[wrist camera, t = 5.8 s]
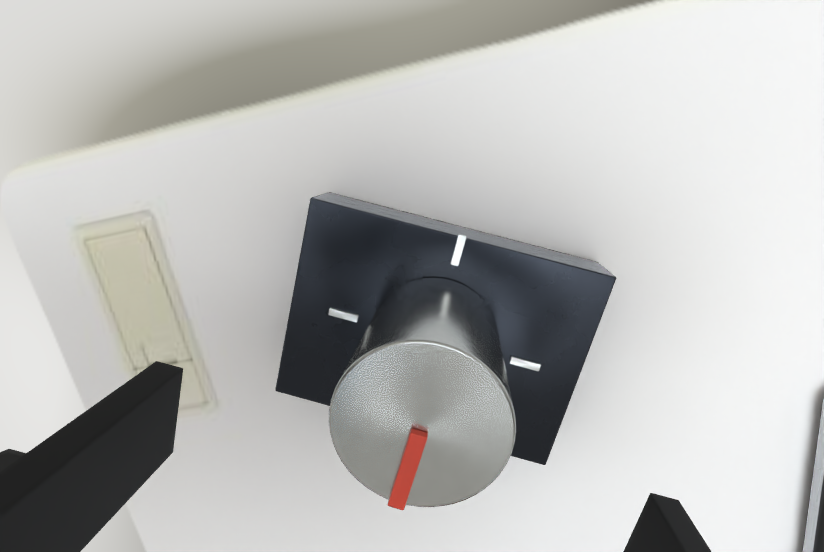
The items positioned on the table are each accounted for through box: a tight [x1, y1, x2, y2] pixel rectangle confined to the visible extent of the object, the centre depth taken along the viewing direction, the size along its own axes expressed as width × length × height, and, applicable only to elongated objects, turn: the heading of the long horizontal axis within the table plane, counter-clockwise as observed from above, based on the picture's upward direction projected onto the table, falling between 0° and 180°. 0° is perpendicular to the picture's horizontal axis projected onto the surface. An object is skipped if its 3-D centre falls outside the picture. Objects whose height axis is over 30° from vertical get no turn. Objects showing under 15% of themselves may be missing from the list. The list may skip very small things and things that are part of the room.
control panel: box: [276, 192, 616, 465], centre depth 24 cm, size 14×10×3 cm
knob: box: [329, 278, 516, 510], centre depth 19 cm, size 6×6×8 cm
